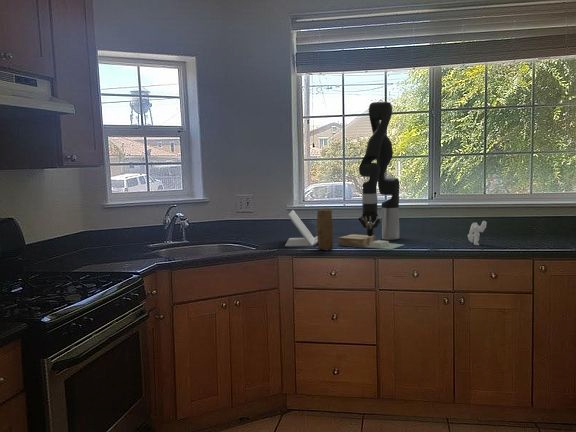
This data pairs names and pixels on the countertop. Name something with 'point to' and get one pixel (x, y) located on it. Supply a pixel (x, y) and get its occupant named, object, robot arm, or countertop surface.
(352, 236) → the board
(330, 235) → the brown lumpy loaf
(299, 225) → the tablet stand
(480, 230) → the figurine
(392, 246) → the mat
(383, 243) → the pale grey rectangular block
